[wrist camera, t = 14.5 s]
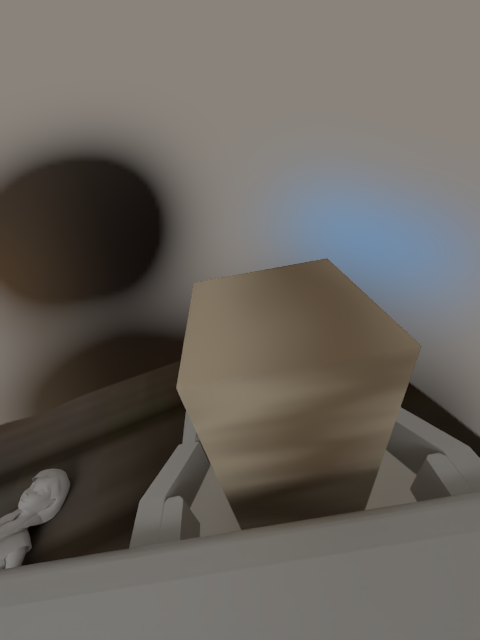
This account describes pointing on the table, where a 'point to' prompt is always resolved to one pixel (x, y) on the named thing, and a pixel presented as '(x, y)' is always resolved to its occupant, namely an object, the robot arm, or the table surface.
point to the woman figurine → (31, 514)
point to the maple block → (293, 389)
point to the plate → (385, 492)
